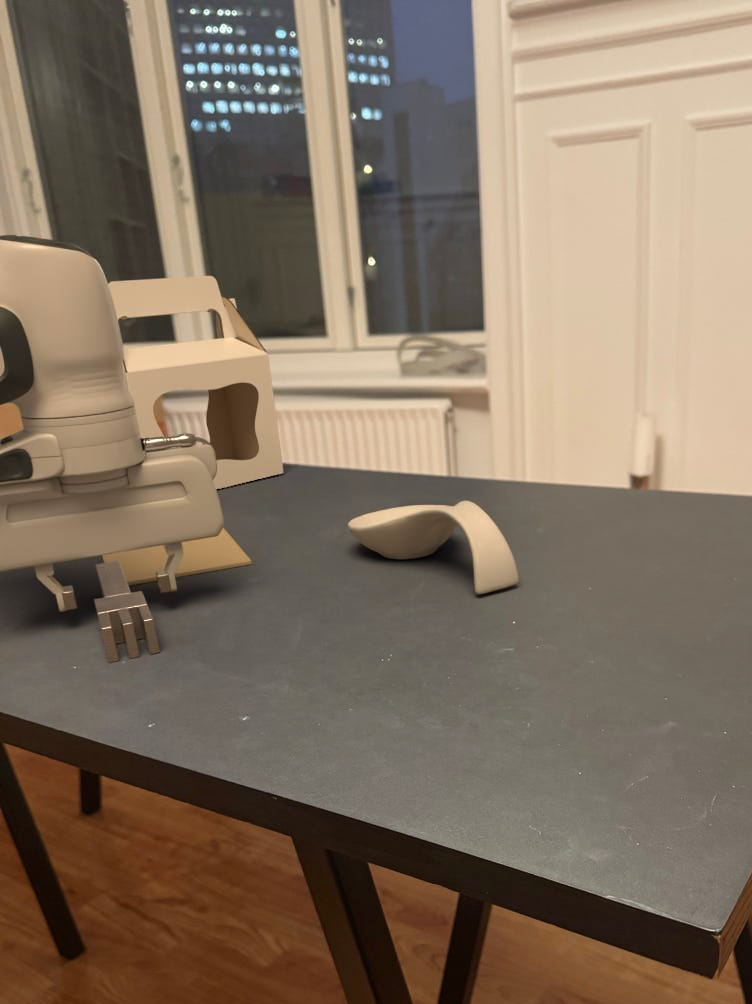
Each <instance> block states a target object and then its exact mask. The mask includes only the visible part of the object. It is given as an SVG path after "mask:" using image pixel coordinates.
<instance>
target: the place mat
mask: <svg viewBox="0 0 752 1004" xmlns="http://www.w3.org/2000/svg"><path fill="white" fill-rule="evenodd" d="M181 543H182V548H183V556H182V559H181V561H180V563H179V566H178V568H177V571H176V573H174V575H175V579H176V578H181V577H186V576H191V575H192V576H193V575H197V574H203V573H210V572H216V571H220V570H227V569H232V568H240V567H244V566H249V565H250V566H251V565H252V564H253V563H252V559H250V557H249V556H248V554H246V553H245V552H244V550H243V549H242V548H241V547H240V545H239V544H238V543H237V541H235V540H234V538H233V537H232V536H231V535H230V534H229V533H228V531H227V530H226V529H225V528H224V527H223V529H222V530H221V532H220V534H219V535H218V536H216V537H210V538H204V539H198V540H192V541H186V542H181ZM168 557H169V555H167V553H166V551H165V549H164V545H161V546H155V547H149V548H143V549H136V550H130V551H124V552H118V553H112V554H106V555H101V558H102V561H103V563H107V562H113V561H119V562H120V565H121V567H122V570H123V573H124V575H125V578H126V581H127V583H128V586H129V587H130V586H135V585H140V584H147V583H153V582H158V580H157V578H156V572H155V571H158V570H163V569H164V568H165V565H166V562H167V560H168Z"/></svg>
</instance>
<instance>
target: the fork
mask: <svg viewBox="0 0 752 1004" xmlns="http://www.w3.org/2000/svg"><path fill="white" fill-rule="evenodd" d="M95 569H96V575H97V579H98V583H99V588H100V593H101V596H102V597H100V598H94V599H93V601H94V607H95V611H96V615H97V619H98V623H99V628H100V633H101V636H102V641H103V645H104V650H105V653H106V657H107V661H108V663H114V662H118V661H120V658H119V653H118V649H117V644H121V643H122V644H123V643H124V645H125V649H126V651H127V655H128V659H133V658H138V657H139V658H140V656H141V655H140V651H139V650H140V649H139V646H138V645H139V644H138V641H137V640H144V641H145V644H146V647H147V650H148V653H149V654H150V655H153V654H158V653H160V652H161V651H160V646H159V641H158V635H157V630H156V625H155V620H154V617H153V615H152V613H151V610H150V607H149V605H148V602H147V600H146V598H145V595H144V593H143V591H142V590H140V591H139V590H138V591H132V592H131V589H130V586H128V583H127V581H126V578H125V575H124V573H123V570H122V567H121V565H120V562H119V561H113V562H107V563H104V562H101V563H95Z"/></svg>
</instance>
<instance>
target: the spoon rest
mask: <svg viewBox="0 0 752 1004" xmlns="http://www.w3.org/2000/svg"><path fill="white" fill-rule="evenodd" d="M457 526H458V527H459V528H460V530H461V531H462V532H463V533H464V535H465V537H466V539H467V542H468V545H469V547H470V551H471V559H472V569H473V585H474V586H473V587H474V592H475V594H477V595H483V594H487V593H491V592H494V591H498V590H502V589H506V588H509V587H511V586H514V585H517V584H518V583H519V573H518V568H517V564H516V561H515V558H514V555H513V552H512V550H511V548H510V546H509V544H508V542H507V540H506V538H505V537H504V534H503V533H502V531H501V530H500V529H499V527H498V525H496V523H495V522H494V521H493V519H492V518H491V517H490V516H489V515H488V513H486V512H485V510H484V509H482V508H481V507H480V506H479V505H477V504H476V503H474V502H472V501H469V500H462V501H459V502H458V503H456V504H455V505H453V506H451V505H445V504H444V505H443V504H414V505H404V506H398V507H390V508H386V509H382V510H377V511H373V512H369V513H366V514H362V515H360V516H357V517H354V518H352V519H351V520H349V522H348V524H347V527H348V530H349V531H350V533H351V535H352V536H353V537H354V538H355V539H356V540H357V541H358V542H359V544H362V545H363V546H364V547H366V548H367V549H370V550H371V551H373V552H376V553H378V554H379V555H381V556H382V557H384V558H387V559H391V560H411V559H418V558H419V559H420V558H423V557H427V556H429V555H432V554H434V553H435V552H437V550H438V549H439V548H440V547H441V546H442V545H443V544H445V543H446V542H447V541H448V540H449V538H450V537H451V536H452V534H453V533H454V531H455V530H456V527H457Z"/></svg>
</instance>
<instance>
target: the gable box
mask: <svg viewBox="0 0 752 1004" xmlns="http://www.w3.org/2000/svg"><path fill="white" fill-rule="evenodd" d="M107 283H108V286H109V289H110V292H111V296H112V299H113V303H114V307H115V311H116V315H117V319H118V320H121V321H122V320H123V321H126V320H127V319H132V318H143V317H145V318H146V317H156V316H166V315H177V314H188V313H191V314H192V313H202V312H207V313H213V312H214V313H215V320H216V322H215V323H216V338H213V339H203V340H195V341H183V342H177V343H167V344H157V345H150V346H140V347H139V346H138V347H131V348H123V349H124V358H123V374H124V379H125V383H126V385H127V388H128V390H129V392H130V394H131V396H132V398H133V401H134V406H135V411H136V416H137V422H138V427H139V432H140V438H151V437H161V436H163V437H164V436H165V435H164V433H163V432H162V430H161V428H160V425H159V424H158V422H157V419H156V417H155V414H154V406H155V403H156V401H157V400H158V398H159V397H160V396H162V395H164V394H166V393H169V392H173V391H178V390H205V391H208V400H207V408H206V415H205V416H206V417H205V422H206V427H207V432H208V436H209V443H210V444H211V445H212V447H213V449H214V451H215V456H216V462H217V473H216V476H215V478H214V479H213V482H214V485H215V488H216V491H218V490H217V489H220V490H223V489H222V488H224V489H228V488H227V487H229V488H232V487H231V486H233V487H235V486H234V485H237V486H239V485H238V484H241V485H243V484H242V483H245V484H247V483H246V482H250V481H254V480H257V479H262V478H266V477H270V476H273V475H277V474H282V473H283V474H284V473H285V472H284V464H283V457H282V449H281V441H280V440H281V439H280V433H279V426H278V417H277V411H276V403H275V396H274V387H273V381H272V373H271V365H270V358H269V357H270V356H269V353H268V352H267V350H266V348H265V347H264V346H263V344H262V343H261V341H260V340H259V339H258V337H257V335H256V334H255V333H254V331H253V330H252V329H251V327H250V325H248V323H247V322H246V321H245V318H244V317H243V316H242V314H241V313H240V312H239V310H238V307H237V303H236V300H235V299H236V298H234V297H232V298H227V296H222V294H221V290H220V288H219V284H218V281H217V279H216V278H215V277H214V276H212V275H200V276H198V275H197V276H181V277H163V278H148V279H147V278H146V279H131V280H114V281H113V280H112V281H107ZM143 453H144V451H143ZM144 457H145V454H144ZM266 479H267V478H266ZM262 480H263V479H262ZM254 482H255V481H254ZM250 483H251V482H250Z"/></svg>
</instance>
